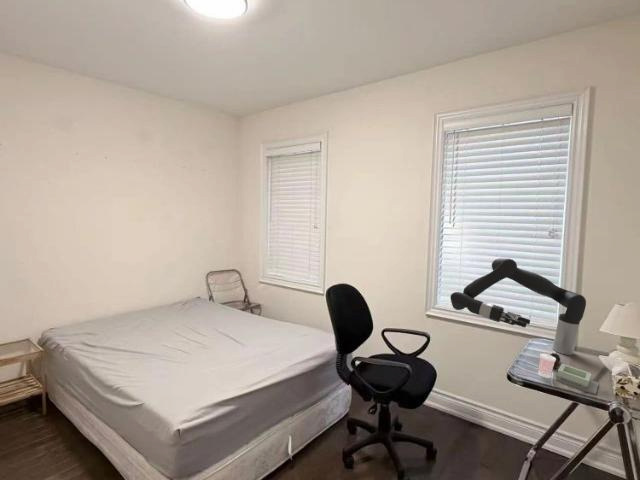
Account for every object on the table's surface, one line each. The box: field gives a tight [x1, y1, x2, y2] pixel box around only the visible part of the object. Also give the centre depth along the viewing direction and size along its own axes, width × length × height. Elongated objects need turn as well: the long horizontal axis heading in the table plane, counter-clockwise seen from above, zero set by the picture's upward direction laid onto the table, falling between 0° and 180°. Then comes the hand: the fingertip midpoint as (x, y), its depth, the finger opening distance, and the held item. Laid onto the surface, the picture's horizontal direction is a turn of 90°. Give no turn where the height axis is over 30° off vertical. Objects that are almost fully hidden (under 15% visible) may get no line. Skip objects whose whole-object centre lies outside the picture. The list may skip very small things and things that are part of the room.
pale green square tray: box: [555, 363, 599, 396], centre depth 151 cm, size 14×14×4 cm
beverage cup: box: [538, 345, 556, 379], centre depth 154 cm, size 6×6×14 cm
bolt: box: [550, 352, 561, 370], centre depth 169 cm, size 6×5×15 cm
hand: (528, 323), depth 159 cm, fingers open, 8 cm apart
